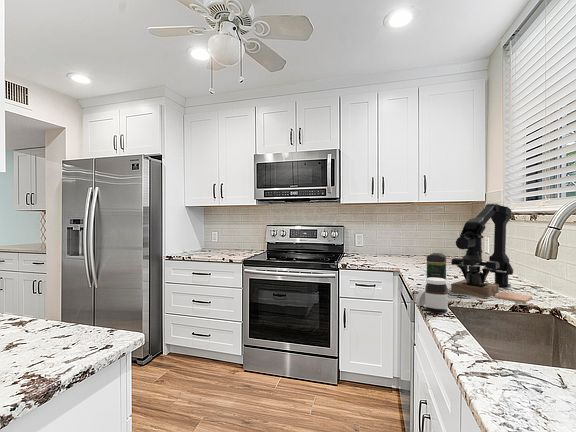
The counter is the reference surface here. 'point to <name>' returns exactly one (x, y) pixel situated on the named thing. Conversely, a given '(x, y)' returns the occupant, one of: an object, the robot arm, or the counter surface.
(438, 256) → the coffee jar
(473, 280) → the supplement bottle
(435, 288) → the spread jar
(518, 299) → the terracotta coaster
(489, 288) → the walnut caddy
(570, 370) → the counter surface
